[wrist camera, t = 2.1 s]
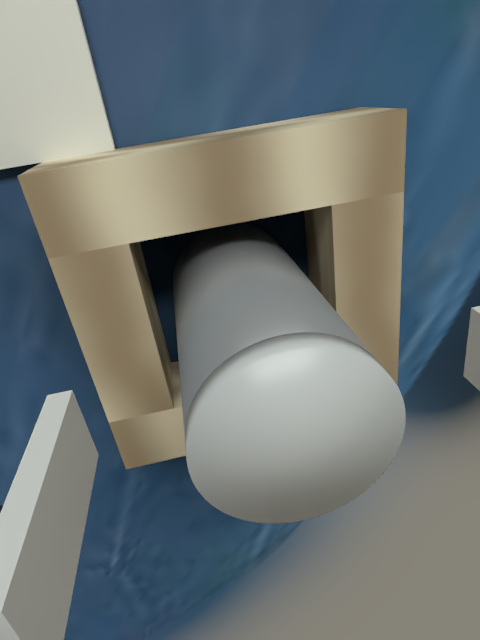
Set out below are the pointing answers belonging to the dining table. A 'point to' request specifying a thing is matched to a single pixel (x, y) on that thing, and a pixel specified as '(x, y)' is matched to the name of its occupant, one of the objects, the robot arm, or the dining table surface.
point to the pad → (48, 85)
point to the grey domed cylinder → (274, 384)
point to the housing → (208, 212)
